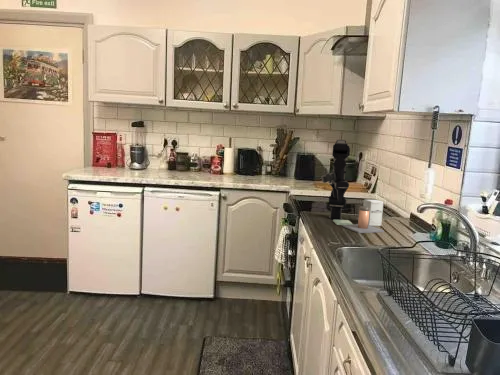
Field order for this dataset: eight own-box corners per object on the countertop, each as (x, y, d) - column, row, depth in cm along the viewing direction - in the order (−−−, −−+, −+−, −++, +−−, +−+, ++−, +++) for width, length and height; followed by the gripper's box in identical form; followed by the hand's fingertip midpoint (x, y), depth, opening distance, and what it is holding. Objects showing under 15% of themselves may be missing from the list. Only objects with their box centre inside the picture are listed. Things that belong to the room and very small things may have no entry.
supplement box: (368, 226, 222) (370, 201, 220) (361, 223, 229) (363, 199, 227) (381, 226, 224) (383, 201, 222) (373, 222, 231) (376, 199, 229)
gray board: (342, 226, 218) (342, 224, 218) (366, 225, 223) (366, 224, 223) (358, 233, 205) (358, 231, 205) (383, 232, 210) (383, 230, 210)
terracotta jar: (355, 226, 215) (357, 206, 214) (362, 226, 217) (364, 206, 216) (362, 228, 211) (364, 208, 209) (370, 228, 213) (371, 207, 212)
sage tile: (333, 221, 229) (333, 219, 229) (348, 222, 230) (348, 220, 230) (336, 224, 222) (336, 222, 221) (352, 225, 222) (352, 223, 222)
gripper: (319, 166, 226) (317, 196, 228) (327, 169, 207) (324, 202, 209) (341, 167, 226) (338, 196, 228) (350, 170, 208) (347, 202, 210)
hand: (337, 199), depth 219 cm, fingers open, 9 cm apart
